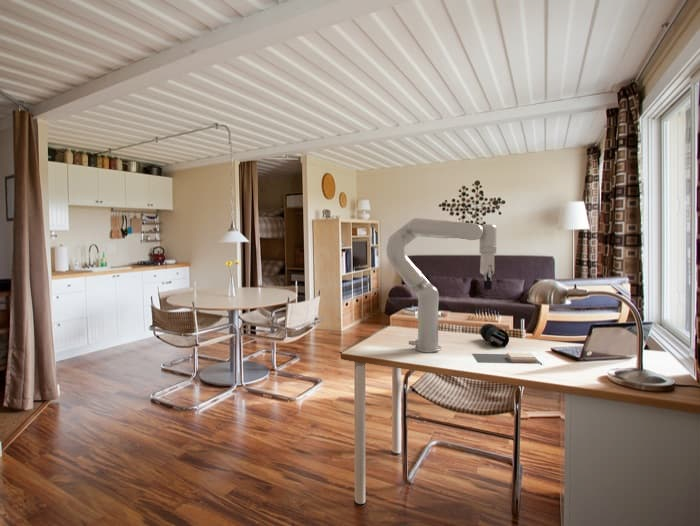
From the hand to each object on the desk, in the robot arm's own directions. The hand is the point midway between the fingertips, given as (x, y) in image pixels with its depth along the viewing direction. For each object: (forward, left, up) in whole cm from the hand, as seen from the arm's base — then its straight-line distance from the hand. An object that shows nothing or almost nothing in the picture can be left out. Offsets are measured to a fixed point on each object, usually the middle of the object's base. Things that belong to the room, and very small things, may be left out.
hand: (487, 289), depth 194 cm
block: (+10, -15, -27) cm, 33 cm away
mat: (+4, -17, -29) cm, 34 cm away
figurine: (+5, +12, -29) cm, 32 cm away
